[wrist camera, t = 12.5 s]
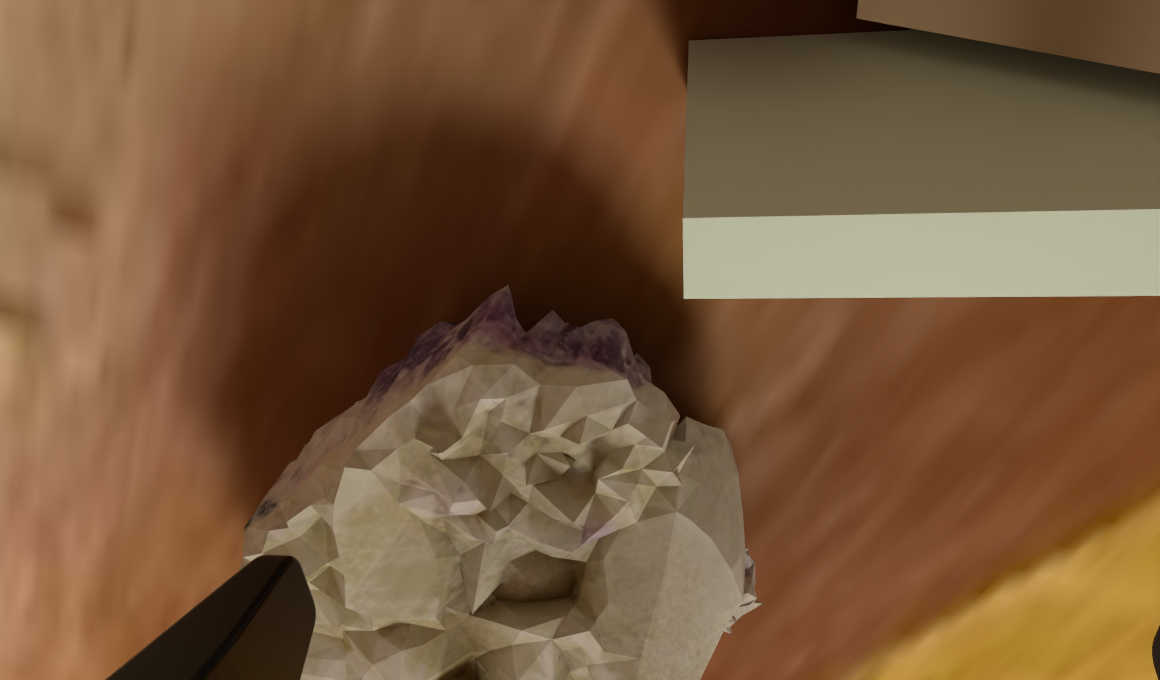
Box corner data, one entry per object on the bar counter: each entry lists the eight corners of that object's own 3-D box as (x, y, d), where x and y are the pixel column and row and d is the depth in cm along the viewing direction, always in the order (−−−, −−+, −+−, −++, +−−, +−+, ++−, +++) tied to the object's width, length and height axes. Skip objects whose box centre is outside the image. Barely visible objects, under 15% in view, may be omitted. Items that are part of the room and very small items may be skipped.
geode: (757, 265, 27) (268, 232, 25) (891, 327, 18) (143, 281, 16) (698, 733, 31) (267, 731, 29) (785, 982, 22) (164, 1000, 20)
